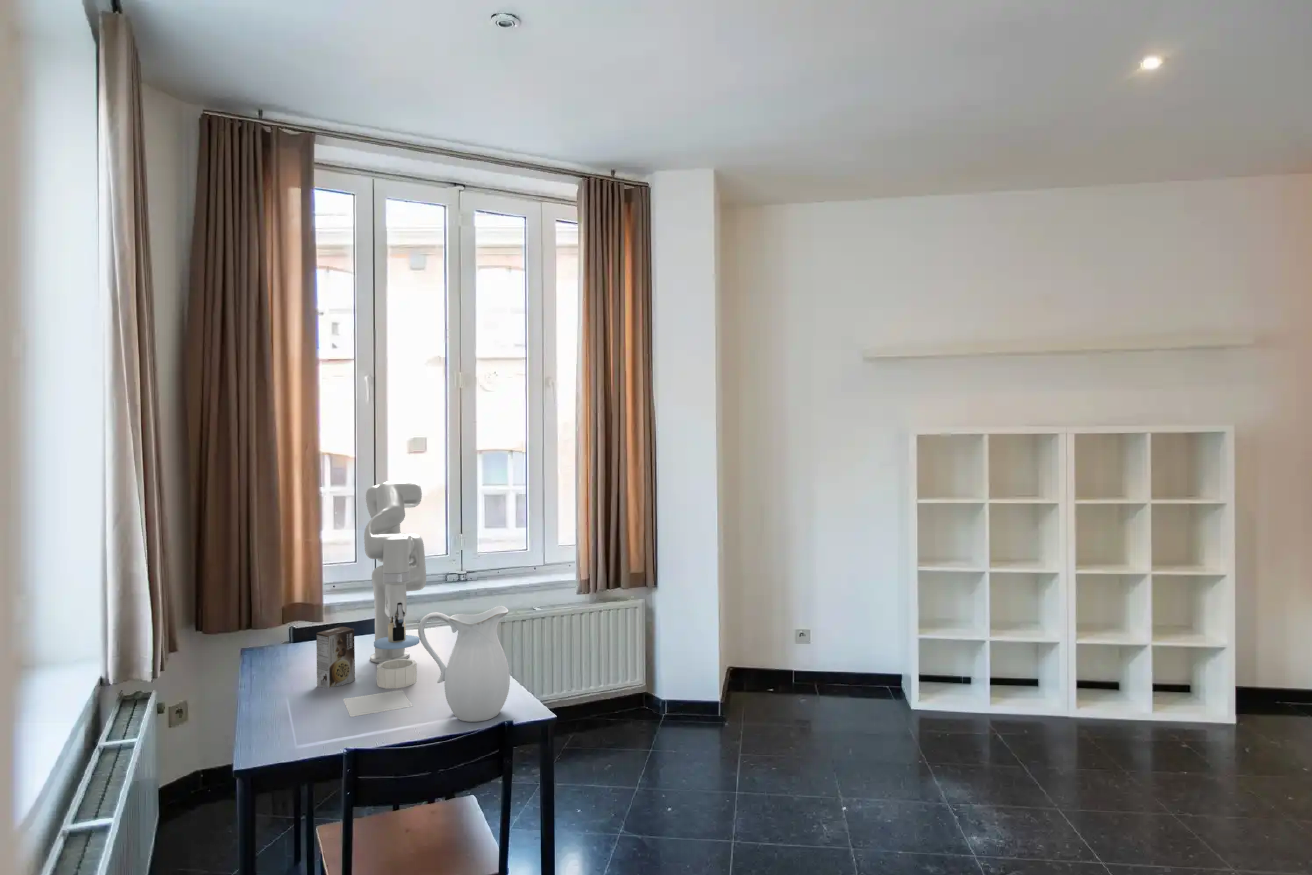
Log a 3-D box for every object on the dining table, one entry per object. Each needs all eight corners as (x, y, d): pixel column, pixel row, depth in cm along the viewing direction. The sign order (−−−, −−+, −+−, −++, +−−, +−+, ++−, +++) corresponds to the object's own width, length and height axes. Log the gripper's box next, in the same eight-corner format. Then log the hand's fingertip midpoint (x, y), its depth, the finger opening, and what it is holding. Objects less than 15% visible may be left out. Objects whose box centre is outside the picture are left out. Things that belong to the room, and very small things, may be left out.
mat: (343, 701, 213) (343, 698, 213) (401, 691, 221) (401, 689, 221) (350, 719, 199) (350, 716, 199) (413, 708, 207) (412, 706, 207)
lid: (370, 641, 231) (370, 622, 231) (414, 636, 237) (414, 617, 237) (377, 651, 219) (377, 630, 219) (423, 645, 226) (423, 625, 226)
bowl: (374, 682, 230) (374, 662, 230) (412, 676, 236) (412, 657, 236) (380, 692, 221) (380, 671, 221) (419, 686, 226) (419, 666, 226)
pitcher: (514, 703, 211) (513, 602, 211) (504, 725, 194) (503, 616, 194) (427, 704, 210) (427, 604, 210) (410, 727, 193) (409, 618, 193)
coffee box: (342, 677, 235) (341, 625, 235) (355, 681, 231) (355, 628, 232) (315, 686, 227) (315, 632, 227) (329, 689, 224) (329, 634, 224)
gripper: (378, 575, 234) (379, 634, 234) (388, 583, 219) (388, 646, 219) (403, 572, 238) (404, 631, 237) (414, 580, 223) (415, 642, 222)
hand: (396, 637), depth 228 cm, fingers closed on lid, 5 cm apart
